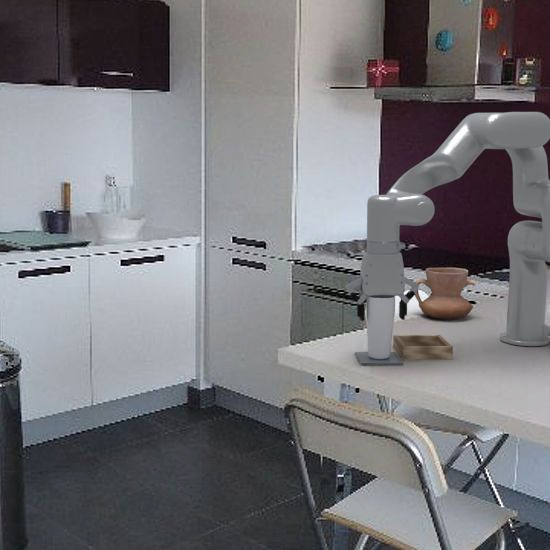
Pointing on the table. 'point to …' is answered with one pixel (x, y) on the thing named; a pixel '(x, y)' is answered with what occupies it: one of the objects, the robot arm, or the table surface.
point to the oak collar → (422, 347)
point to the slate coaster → (368, 361)
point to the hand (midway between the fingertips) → (381, 319)
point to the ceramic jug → (445, 293)
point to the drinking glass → (380, 325)
